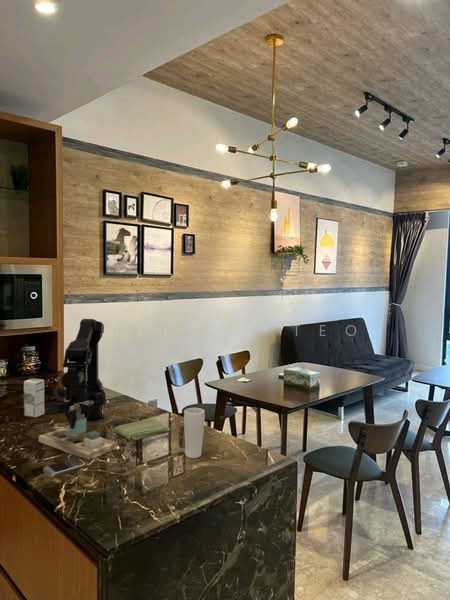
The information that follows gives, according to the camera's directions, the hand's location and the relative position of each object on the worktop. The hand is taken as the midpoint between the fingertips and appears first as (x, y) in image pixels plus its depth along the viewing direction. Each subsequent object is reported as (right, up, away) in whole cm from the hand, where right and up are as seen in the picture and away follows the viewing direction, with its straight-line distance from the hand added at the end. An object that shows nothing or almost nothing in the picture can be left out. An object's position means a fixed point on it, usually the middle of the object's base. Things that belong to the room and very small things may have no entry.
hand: (77, 426), depth 154 cm
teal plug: (0, -2, 0) cm, 2 cm away
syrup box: (-28, -4, +31) cm, 42 cm away
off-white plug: (+6, -7, -4) cm, 10 cm away
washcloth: (+19, -7, +15) cm, 25 cm away
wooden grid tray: (0, -6, 0) cm, 6 cm away
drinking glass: (+40, -8, -6) cm, 41 cm away
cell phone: (+2, -8, -18) cm, 20 cm away
